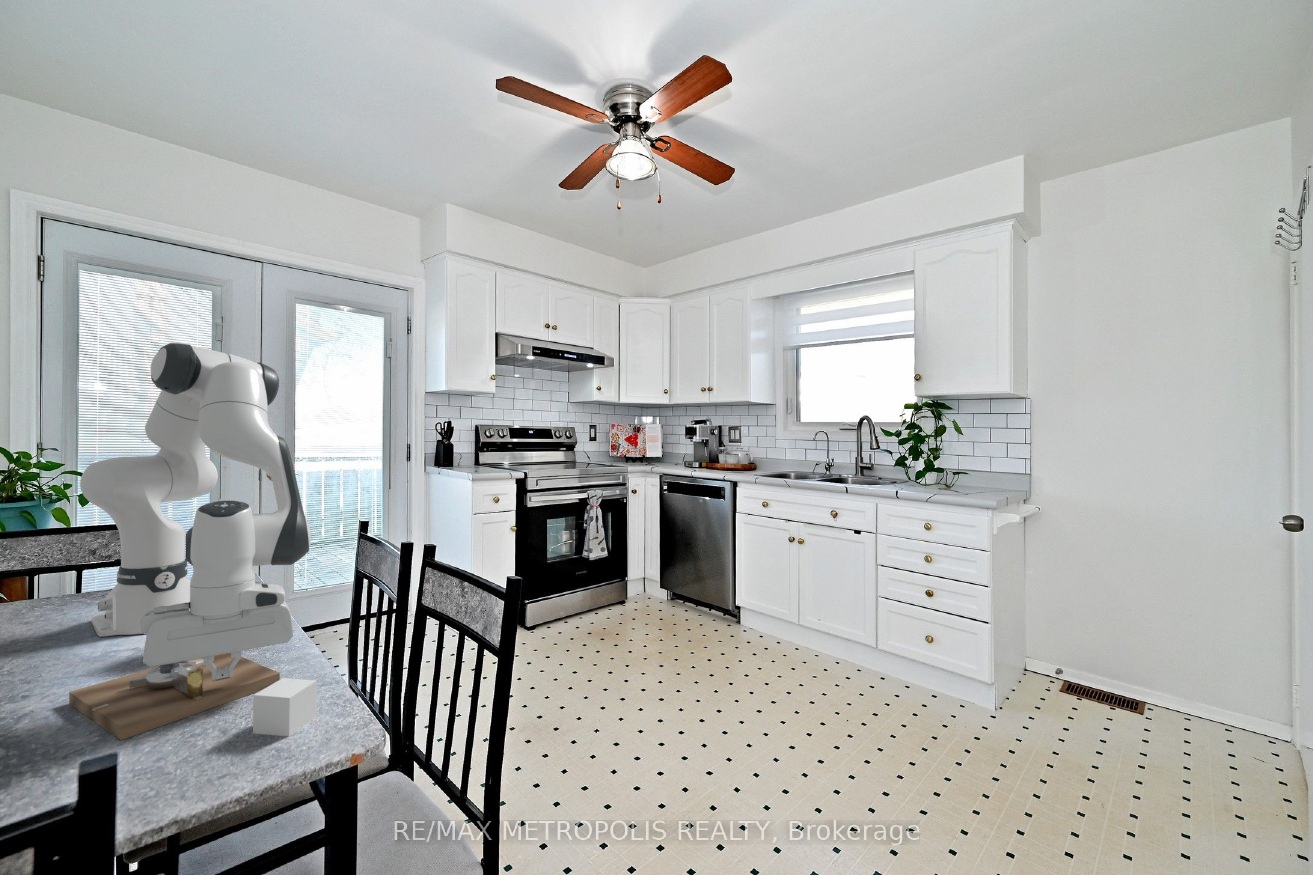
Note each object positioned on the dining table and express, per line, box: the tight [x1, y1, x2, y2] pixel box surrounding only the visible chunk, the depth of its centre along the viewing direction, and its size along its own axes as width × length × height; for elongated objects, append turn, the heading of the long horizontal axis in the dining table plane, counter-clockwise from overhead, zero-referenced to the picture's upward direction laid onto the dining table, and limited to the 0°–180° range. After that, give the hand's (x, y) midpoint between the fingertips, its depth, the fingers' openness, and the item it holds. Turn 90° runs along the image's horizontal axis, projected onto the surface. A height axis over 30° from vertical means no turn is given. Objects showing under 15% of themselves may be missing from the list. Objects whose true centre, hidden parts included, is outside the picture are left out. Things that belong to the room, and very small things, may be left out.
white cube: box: [252, 677, 318, 737], centre depth 90 cm, size 6×6×6 cm
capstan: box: [129, 662, 203, 697], centre depth 97 cm, size 13×9×5 cm
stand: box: [68, 653, 281, 741], centre depth 99 cm, size 22×22×4 cm
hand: (222, 678), depth 97 cm, fingers closed
